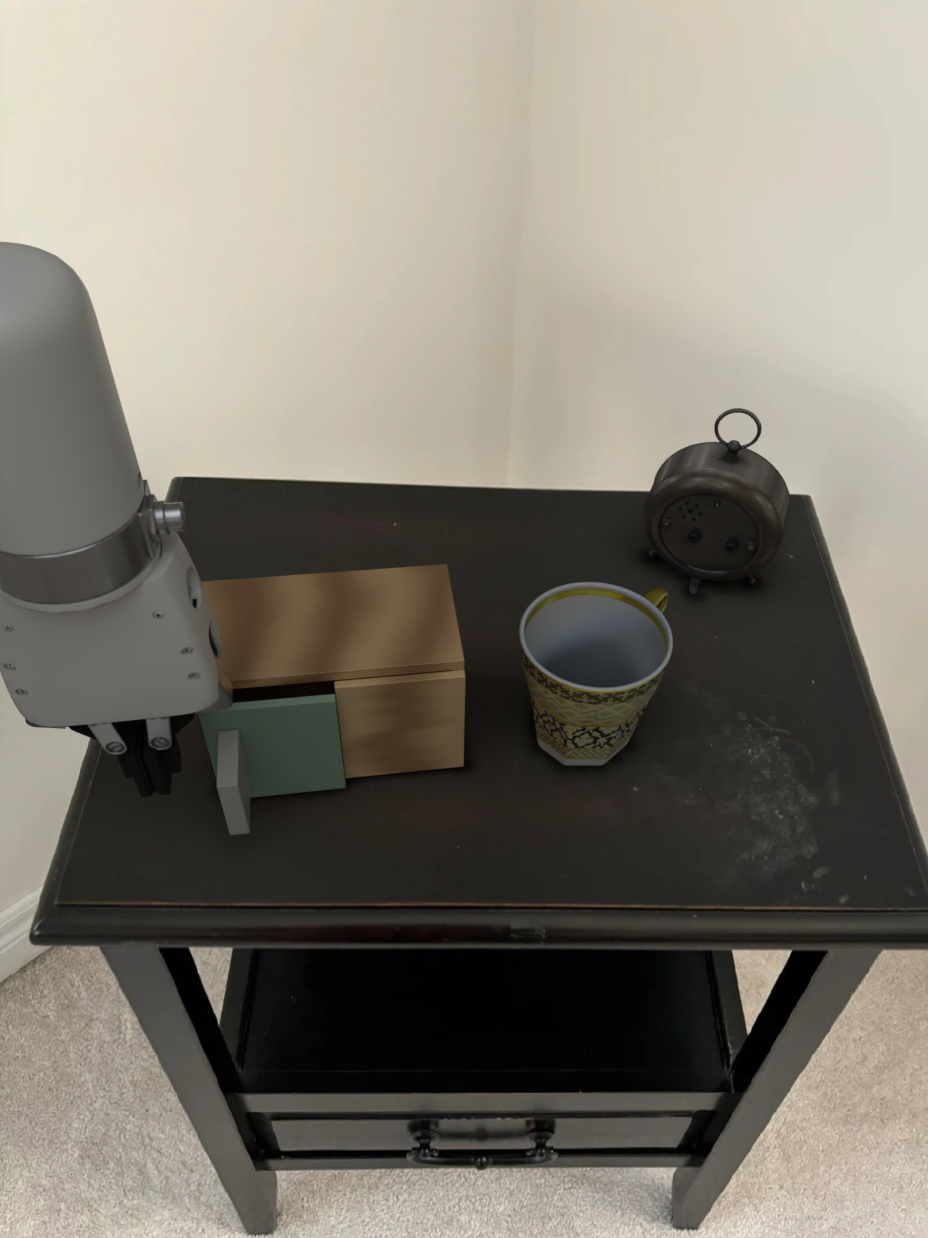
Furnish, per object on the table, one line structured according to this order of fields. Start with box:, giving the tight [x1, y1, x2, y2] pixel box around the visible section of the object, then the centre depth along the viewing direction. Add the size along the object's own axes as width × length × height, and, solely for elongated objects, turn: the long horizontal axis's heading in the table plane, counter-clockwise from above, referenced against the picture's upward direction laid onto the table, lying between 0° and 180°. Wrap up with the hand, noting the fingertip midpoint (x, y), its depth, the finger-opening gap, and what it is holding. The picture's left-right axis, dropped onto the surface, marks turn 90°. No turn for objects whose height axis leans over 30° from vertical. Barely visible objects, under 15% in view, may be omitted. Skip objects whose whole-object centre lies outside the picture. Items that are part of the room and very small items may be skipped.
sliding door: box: [198, 694, 347, 836], centre depth 63 cm, size 8×5×9 cm, turn 99°
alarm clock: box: [642, 407, 791, 595], centre depth 79 cm, size 11×5×16 cm, turn 71°
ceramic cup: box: [518, 581, 674, 767], centre depth 71 cm, size 13×10×10 cm
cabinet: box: [201, 563, 467, 779], centre depth 69 cm, size 16×10×11 cm, turn 99°
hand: (157, 776), depth 60 cm, fingers closed
